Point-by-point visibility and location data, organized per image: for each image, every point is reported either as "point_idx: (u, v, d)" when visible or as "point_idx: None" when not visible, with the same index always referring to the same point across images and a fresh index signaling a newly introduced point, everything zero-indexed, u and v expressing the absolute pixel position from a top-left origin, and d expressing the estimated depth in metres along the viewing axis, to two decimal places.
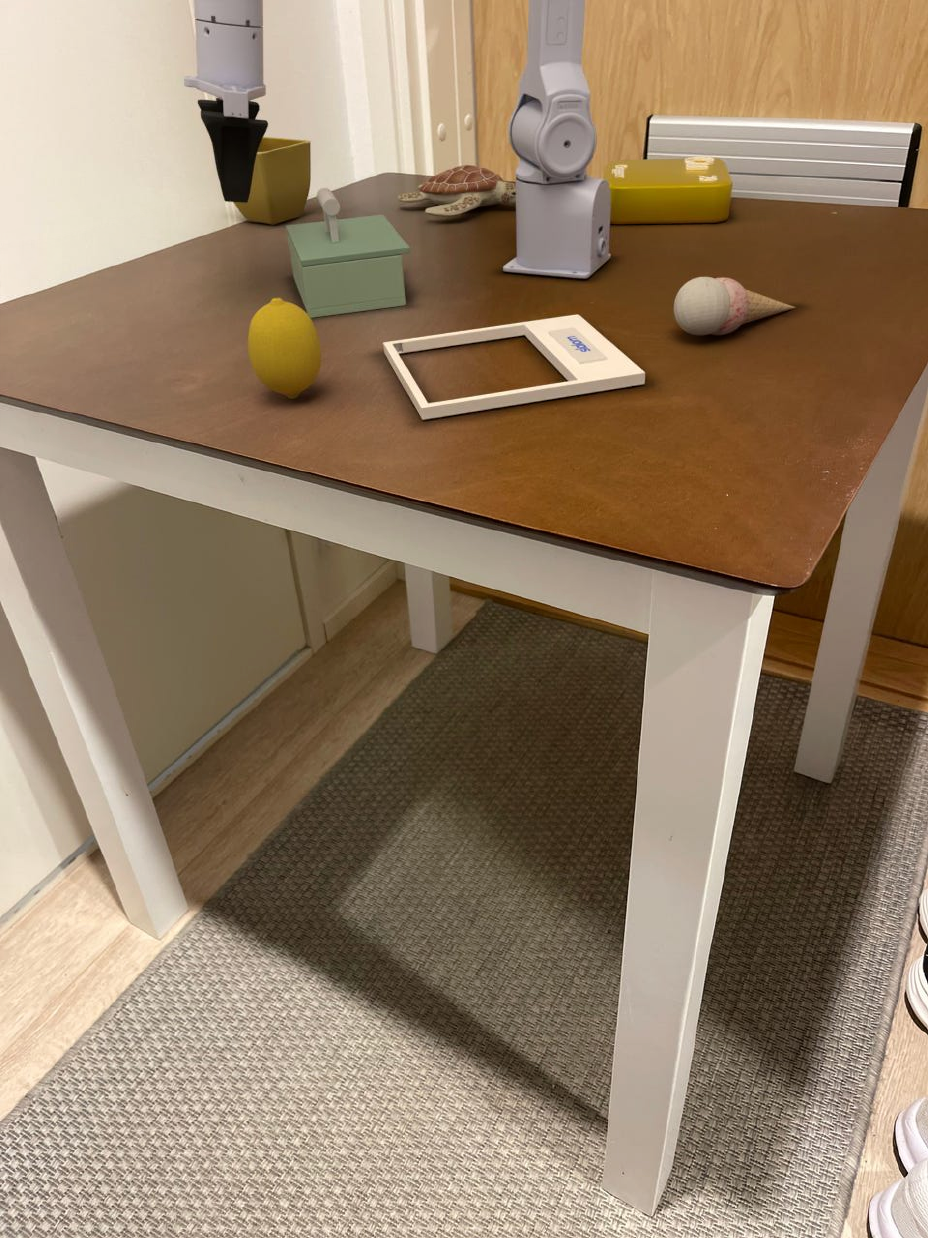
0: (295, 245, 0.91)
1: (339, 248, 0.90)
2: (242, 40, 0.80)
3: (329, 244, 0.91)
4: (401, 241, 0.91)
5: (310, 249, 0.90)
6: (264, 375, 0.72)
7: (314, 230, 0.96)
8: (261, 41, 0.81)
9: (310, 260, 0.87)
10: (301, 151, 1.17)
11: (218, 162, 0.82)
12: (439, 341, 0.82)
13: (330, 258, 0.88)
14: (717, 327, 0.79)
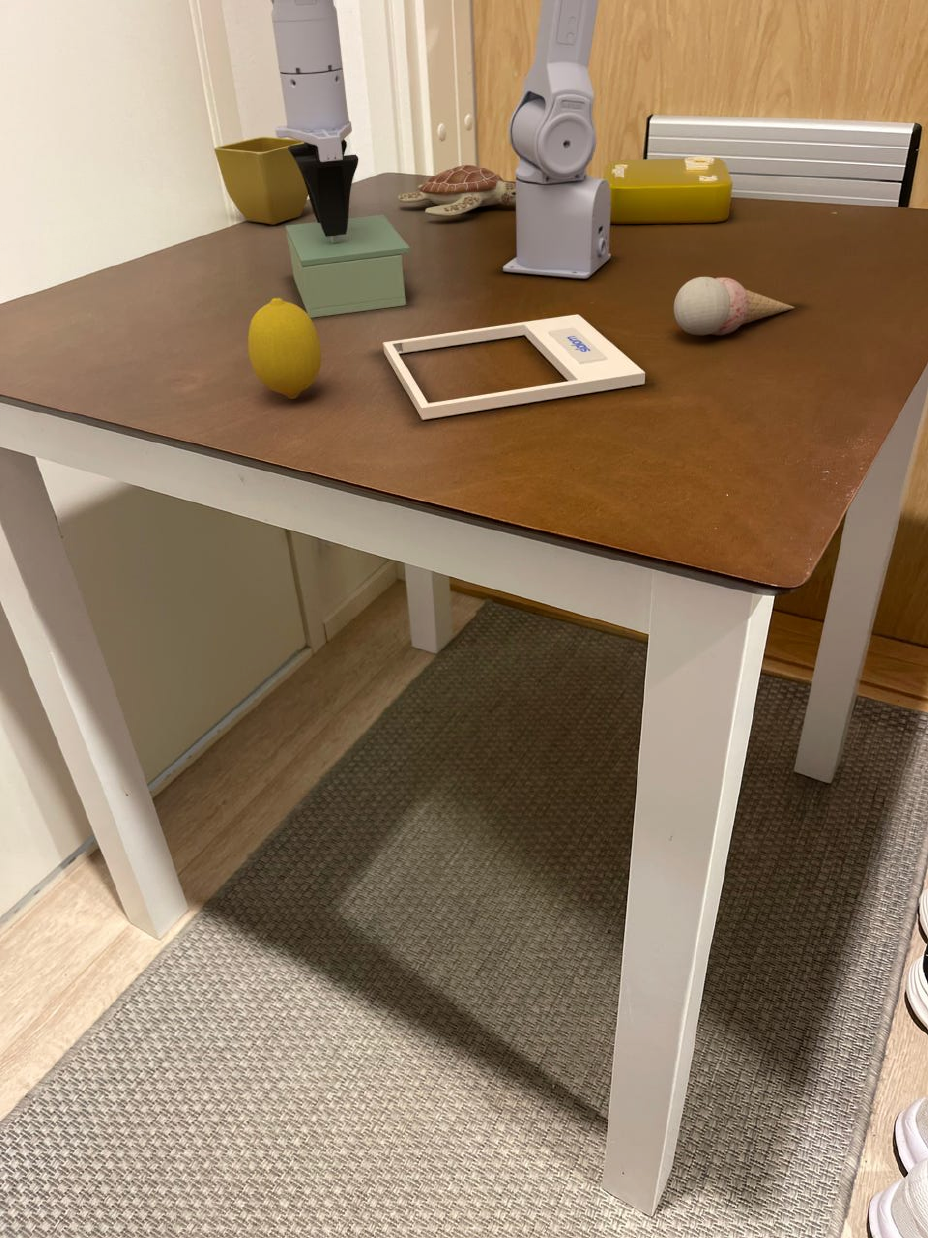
0: (295, 245, 0.91)
1: (339, 248, 0.90)
2: (327, 85, 0.83)
3: (329, 244, 0.91)
4: (401, 241, 0.91)
5: (310, 249, 0.90)
6: (264, 375, 0.72)
7: (314, 230, 0.96)
8: (343, 81, 0.85)
9: (310, 260, 0.87)
10: None
11: (316, 202, 0.88)
12: (439, 341, 0.82)
13: (330, 258, 0.88)
14: (717, 327, 0.79)
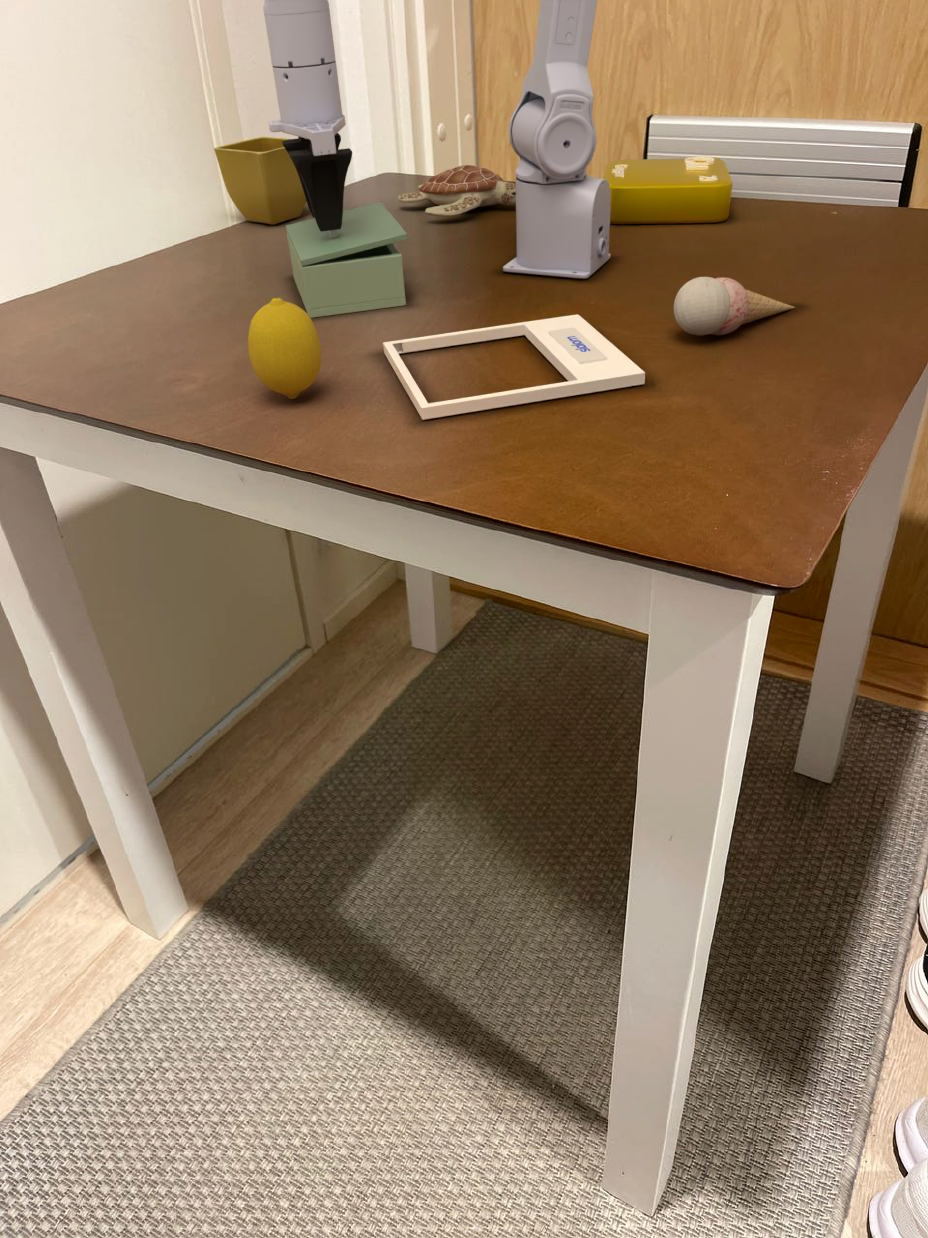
0: (295, 245, 0.91)
1: (338, 243, 0.89)
2: (319, 78, 0.83)
3: (328, 240, 0.91)
4: (399, 228, 0.90)
5: (309, 247, 0.90)
6: (264, 375, 0.72)
7: (313, 227, 0.95)
8: (336, 75, 0.84)
9: (309, 259, 0.87)
10: None
11: (311, 196, 0.87)
12: (439, 341, 0.82)
13: (329, 254, 0.88)
14: (717, 327, 0.79)
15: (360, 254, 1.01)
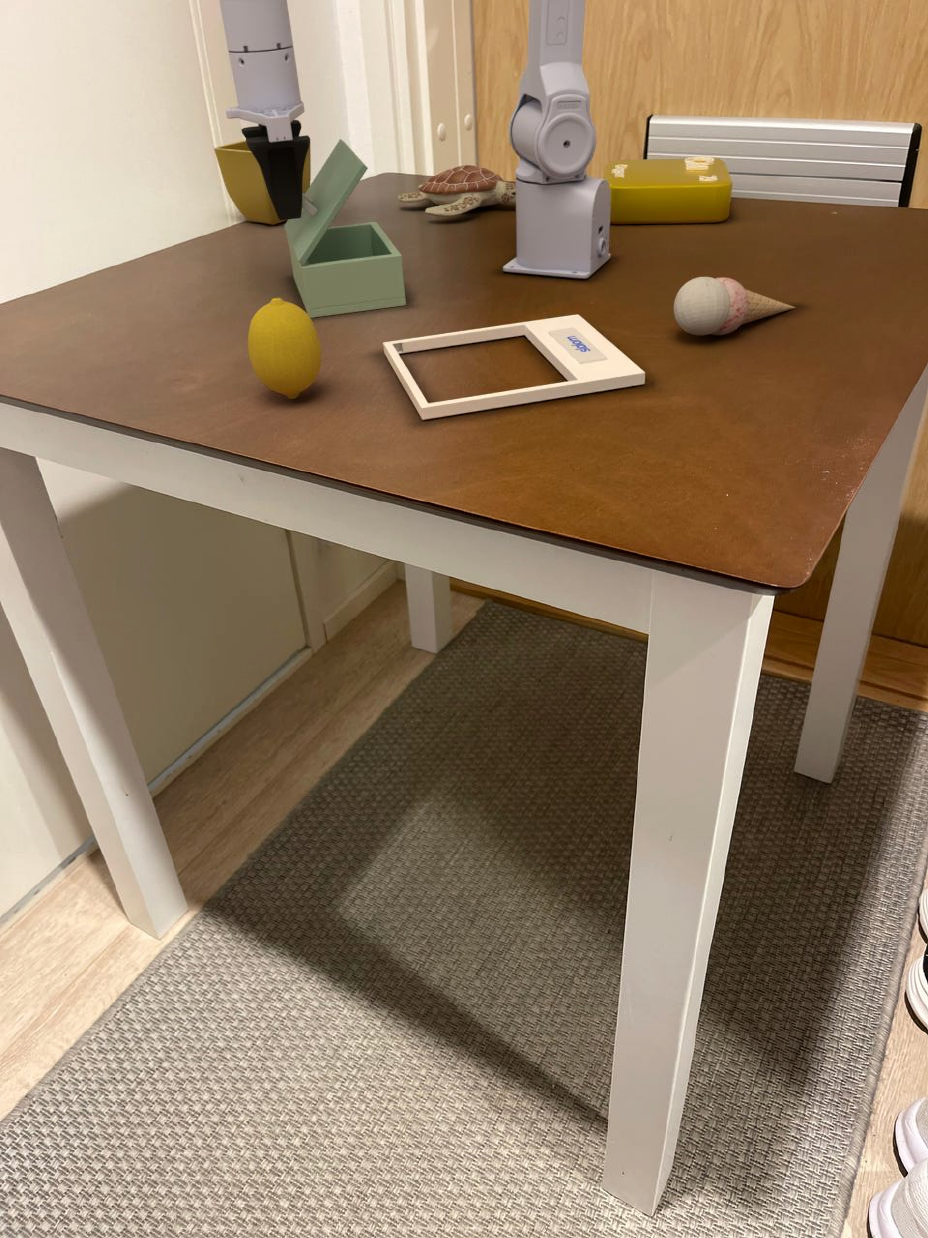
0: (293, 245, 0.91)
1: (319, 218, 0.88)
2: (276, 63, 0.81)
3: (312, 220, 0.89)
4: (356, 162, 0.86)
5: (302, 240, 0.89)
6: (264, 375, 0.72)
7: None
8: (293, 60, 0.83)
9: (304, 254, 0.87)
10: None
11: (268, 184, 0.86)
12: (439, 341, 0.82)
13: (316, 237, 0.86)
14: (717, 327, 0.79)
15: (360, 254, 1.01)
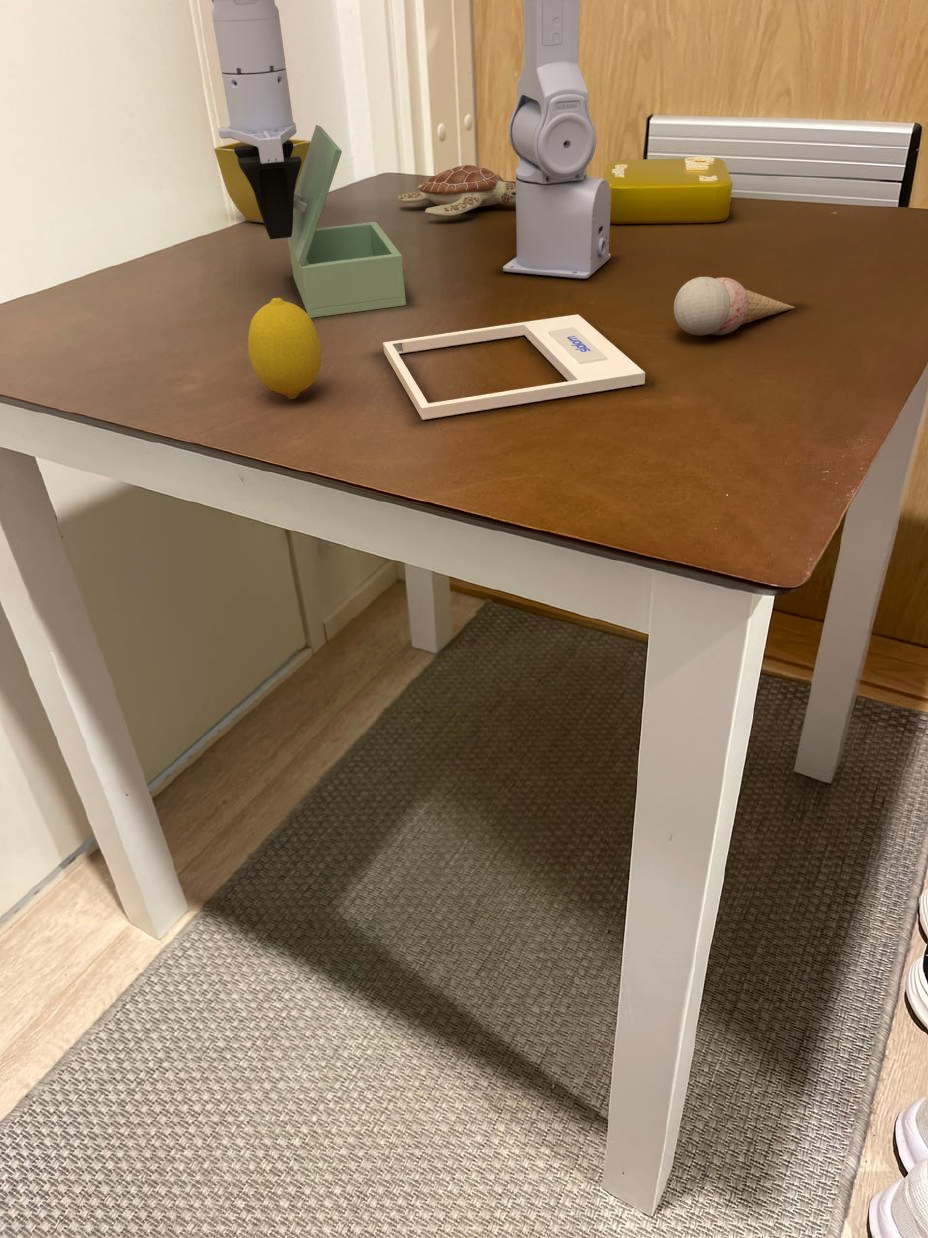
0: (292, 246, 0.91)
1: (309, 213, 0.87)
2: (268, 86, 0.82)
3: (304, 216, 0.89)
4: (331, 147, 0.84)
5: (298, 239, 0.89)
6: (264, 375, 0.72)
7: (295, 209, 0.94)
8: (286, 82, 0.84)
9: (302, 253, 0.87)
10: (301, 151, 1.17)
11: (260, 204, 0.86)
12: (439, 341, 0.82)
13: (309, 233, 0.86)
14: (717, 327, 0.79)
15: (360, 254, 1.01)
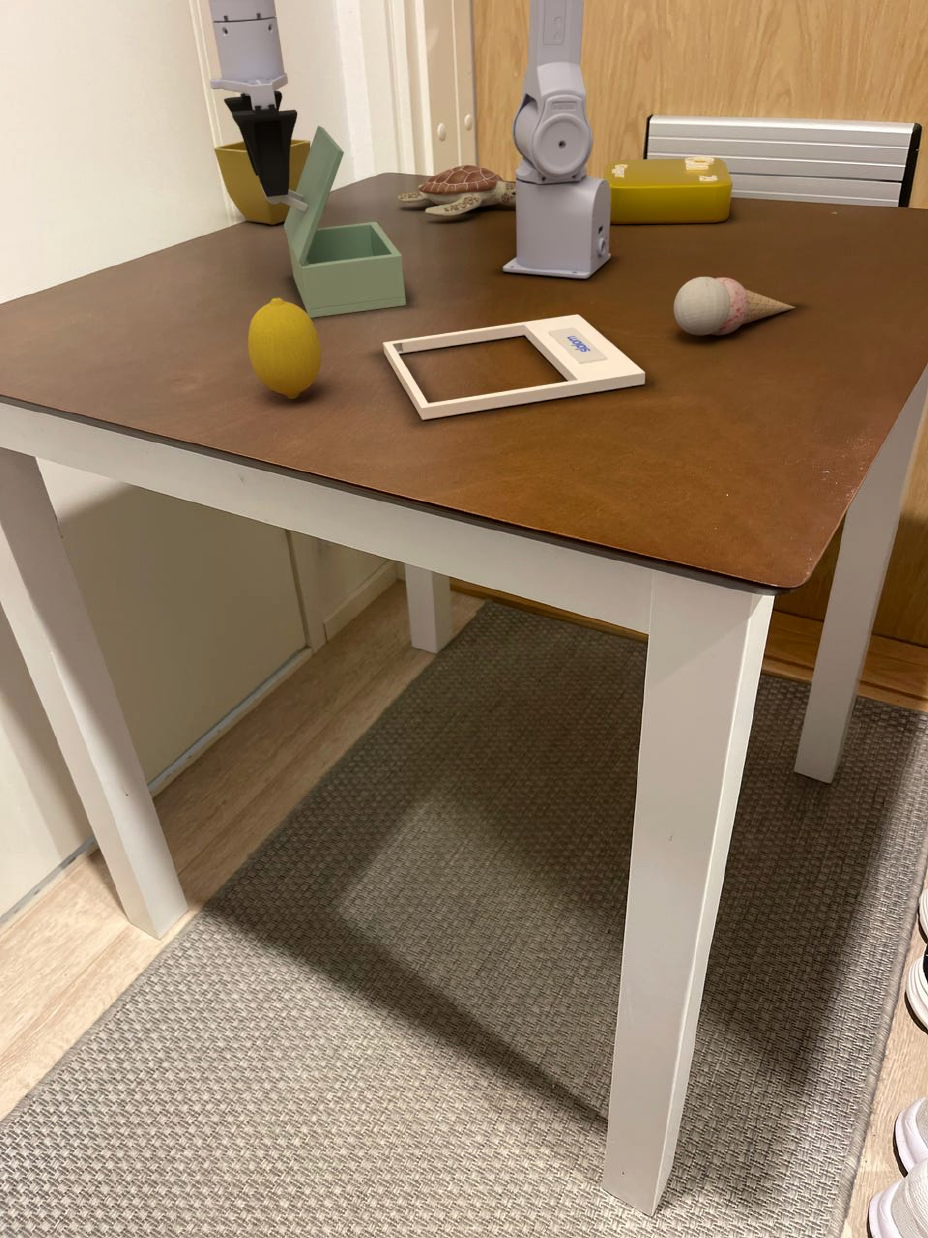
0: (292, 246, 0.91)
1: (309, 213, 0.87)
2: (259, 33, 0.82)
3: (305, 216, 0.89)
4: (333, 148, 0.85)
5: (299, 239, 0.89)
6: (264, 375, 0.72)
7: (295, 210, 0.94)
8: (277, 31, 0.84)
9: (302, 253, 0.87)
10: (301, 151, 1.17)
11: (255, 159, 0.84)
12: (439, 341, 0.82)
13: (310, 233, 0.86)
14: (717, 327, 0.79)
15: (360, 254, 1.01)
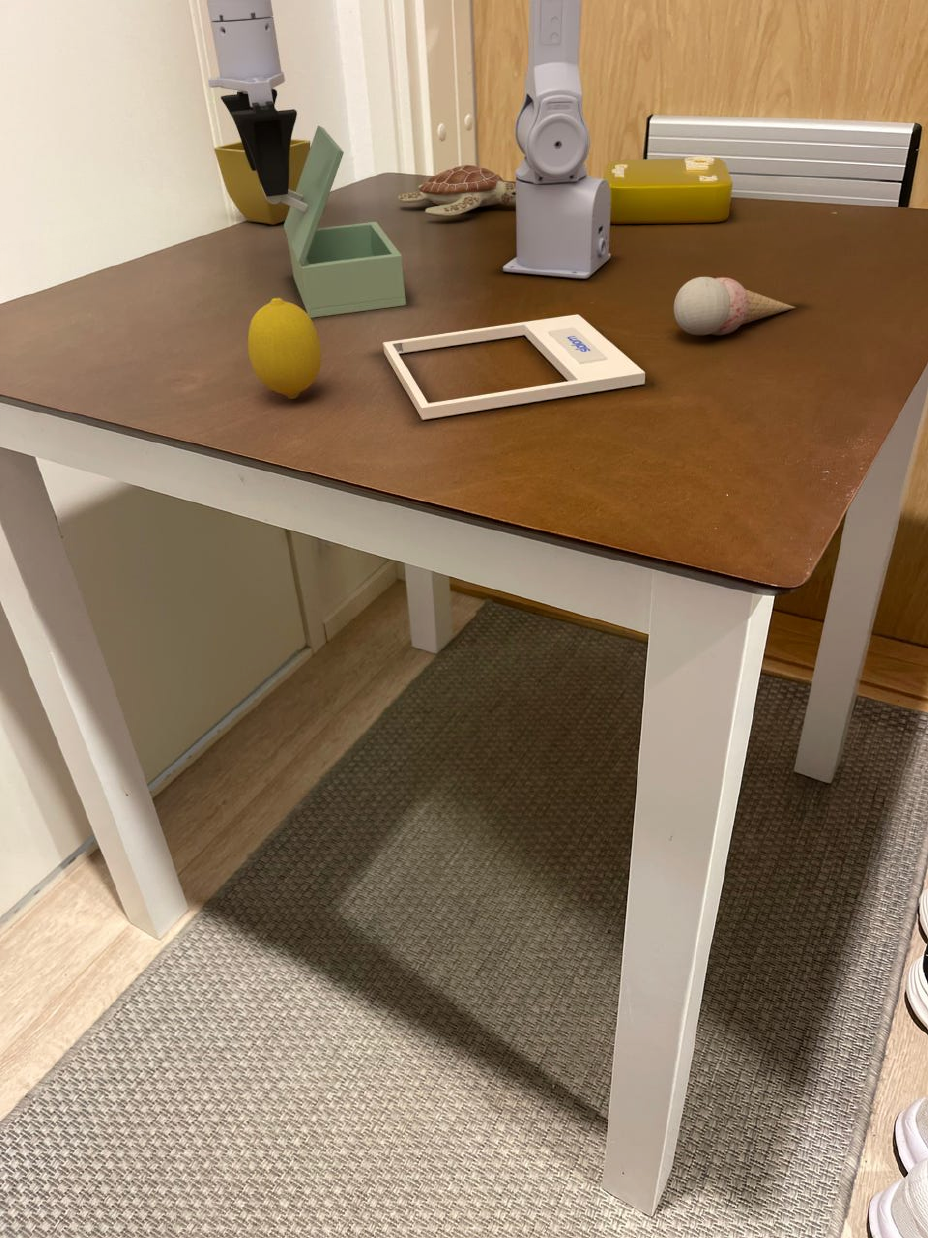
0: (292, 246, 0.91)
1: (309, 213, 0.87)
2: (256, 32, 0.84)
3: (304, 216, 0.89)
4: (333, 148, 0.85)
5: (299, 239, 0.89)
6: (264, 375, 0.72)
7: (295, 210, 0.94)
8: (274, 30, 0.85)
9: (302, 253, 0.87)
10: (301, 151, 1.17)
11: (255, 159, 0.84)
12: (439, 341, 0.82)
13: (310, 233, 0.86)
14: (717, 327, 0.79)
15: (360, 254, 1.01)
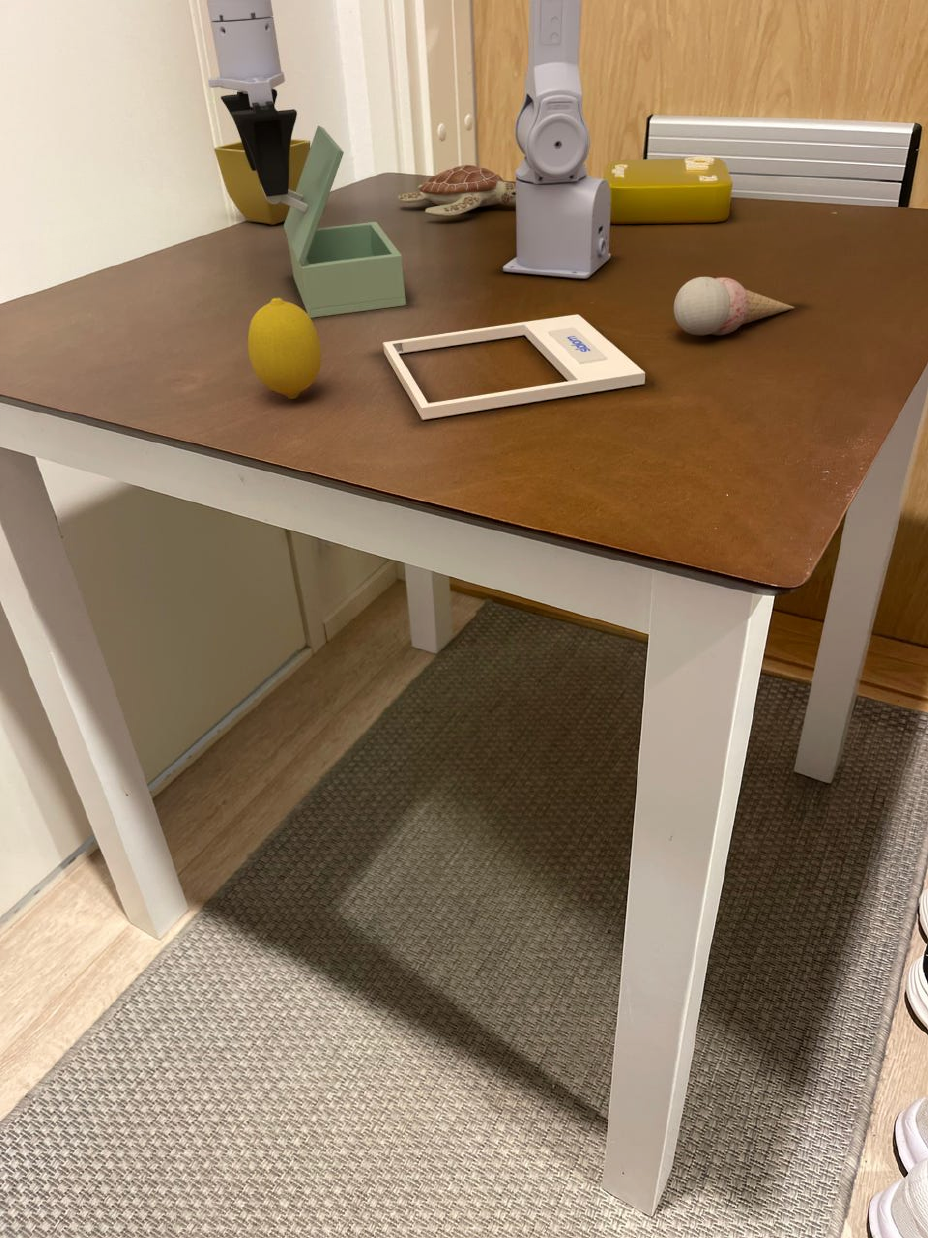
0: (292, 246, 0.91)
1: (309, 213, 0.87)
2: (256, 32, 0.84)
3: (304, 216, 0.89)
4: (333, 148, 0.85)
5: (299, 239, 0.89)
6: (264, 375, 0.72)
7: (295, 210, 0.94)
8: (274, 30, 0.85)
9: (302, 253, 0.87)
10: (301, 151, 1.17)
11: (255, 159, 0.84)
12: (439, 341, 0.82)
13: (310, 233, 0.86)
14: (717, 327, 0.79)
15: (360, 254, 1.01)
